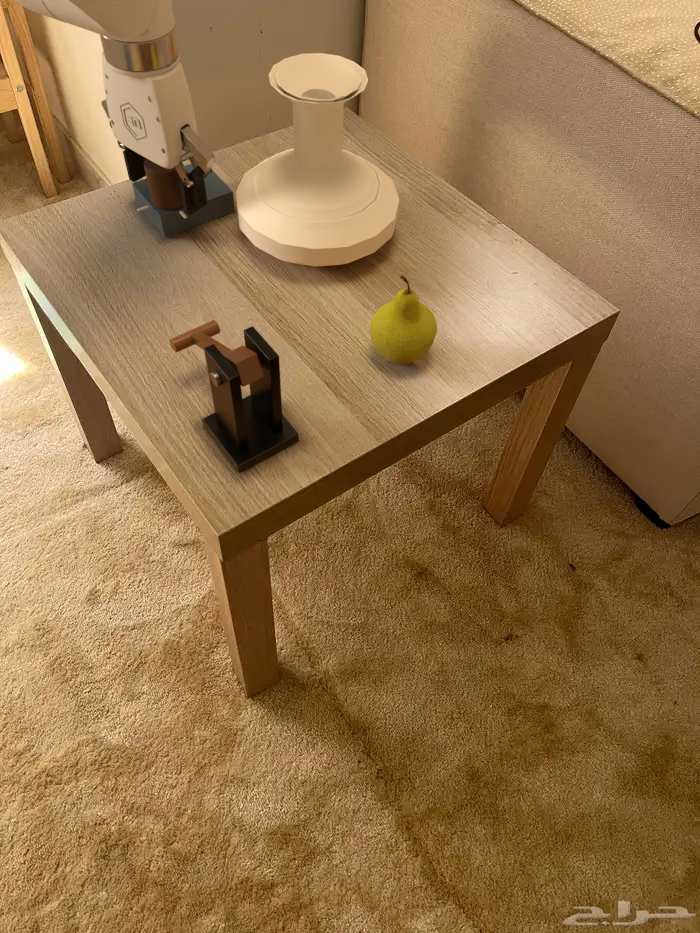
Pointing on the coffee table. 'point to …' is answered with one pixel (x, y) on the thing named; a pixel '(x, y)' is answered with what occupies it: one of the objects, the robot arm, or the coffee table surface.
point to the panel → (177, 219)
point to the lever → (222, 351)
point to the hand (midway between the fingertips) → (168, 192)
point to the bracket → (247, 407)
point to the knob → (163, 186)
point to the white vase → (317, 174)
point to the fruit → (403, 328)
